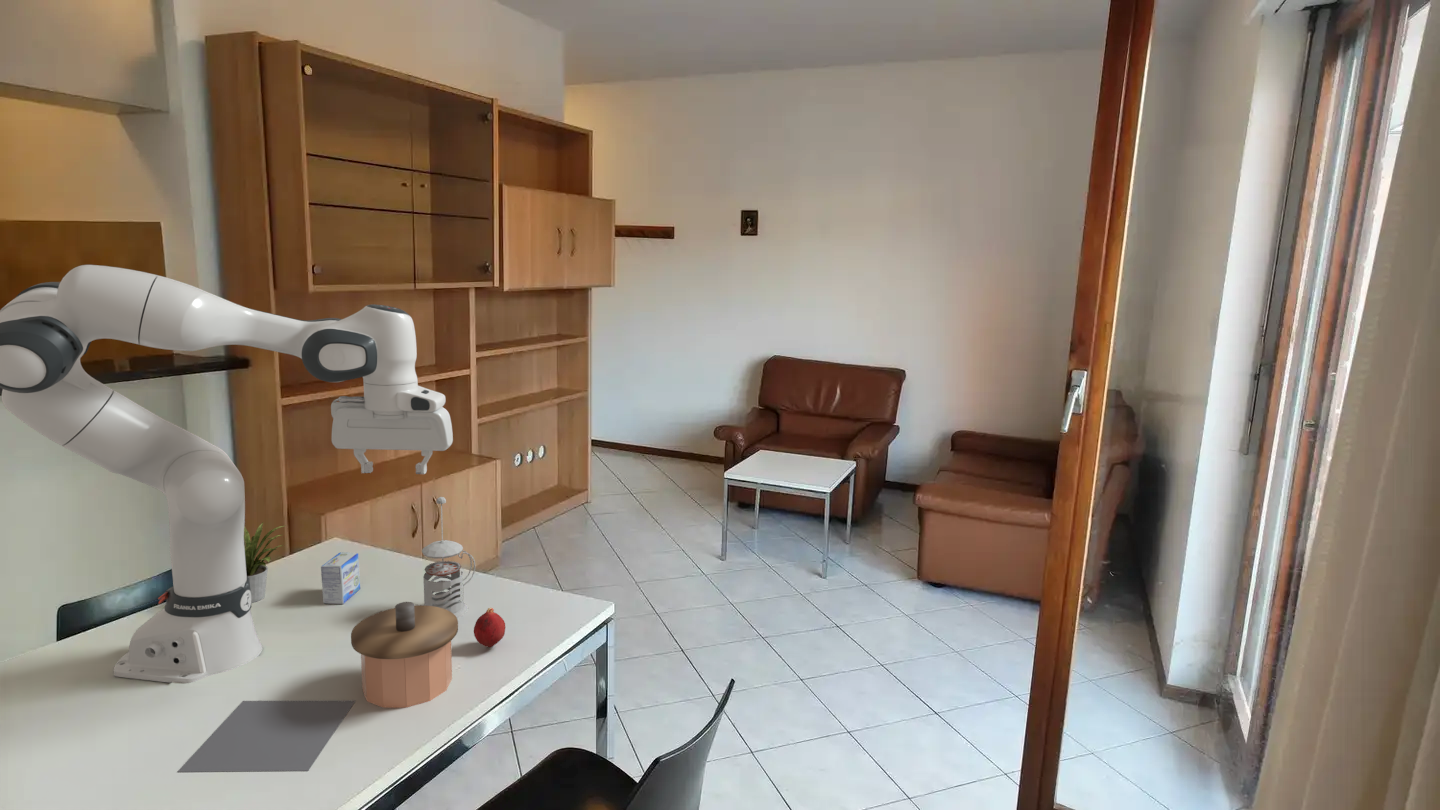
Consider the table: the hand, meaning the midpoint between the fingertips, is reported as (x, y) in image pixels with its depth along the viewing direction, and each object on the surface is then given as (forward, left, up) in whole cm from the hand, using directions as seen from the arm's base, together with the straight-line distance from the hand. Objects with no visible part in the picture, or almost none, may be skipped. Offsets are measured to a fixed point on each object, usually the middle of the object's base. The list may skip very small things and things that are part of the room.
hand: (394, 472), depth 141 cm
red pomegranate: (+16, +2, -35) cm, 39 cm away
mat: (-11, -26, -35) cm, 45 cm away
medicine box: (-20, +24, -35) cm, 47 cm away
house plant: (-37, +23, -35) cm, 56 cm away
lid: (+5, -12, -25) cm, 28 cm away
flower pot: (+5, -12, -35) cm, 37 cm away
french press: (+4, +18, -35) cm, 40 cm away
